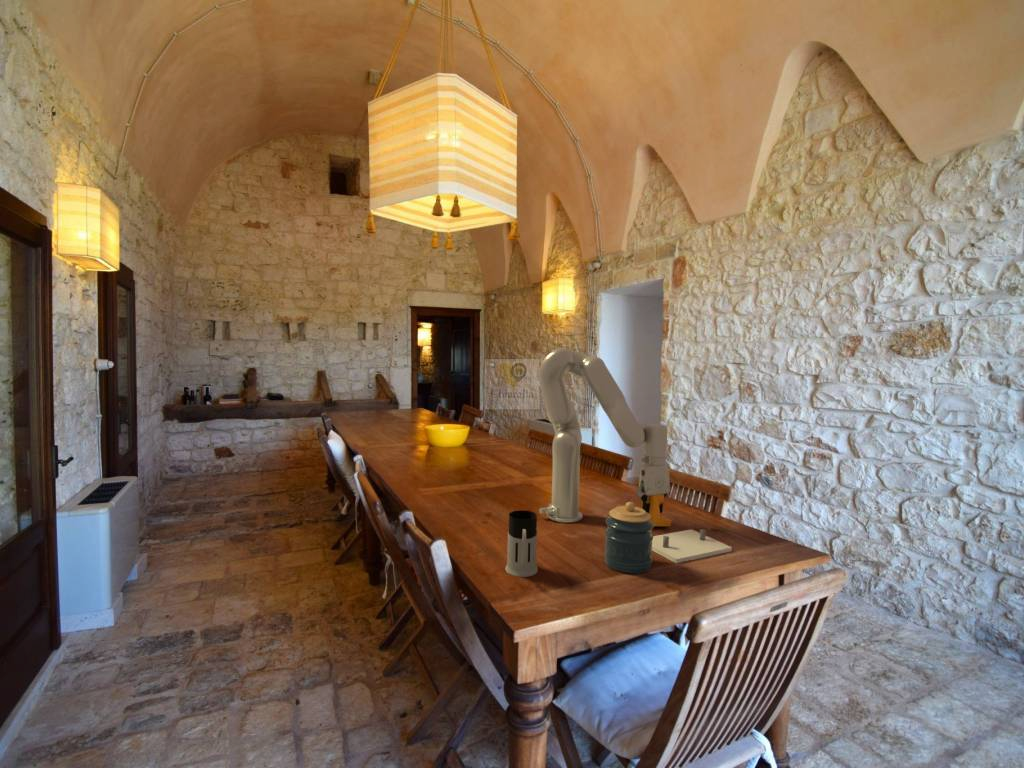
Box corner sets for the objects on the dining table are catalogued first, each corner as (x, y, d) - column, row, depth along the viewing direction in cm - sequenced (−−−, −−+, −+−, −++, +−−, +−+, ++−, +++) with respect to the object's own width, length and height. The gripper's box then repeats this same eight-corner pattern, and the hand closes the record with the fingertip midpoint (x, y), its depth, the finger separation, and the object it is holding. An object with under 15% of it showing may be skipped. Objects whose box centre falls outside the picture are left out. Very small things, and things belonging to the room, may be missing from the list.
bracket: (671, 528, 165) (676, 493, 165) (654, 528, 162) (659, 492, 162) (651, 518, 175) (655, 485, 175) (634, 518, 172) (639, 484, 172)
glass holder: (536, 562, 136) (537, 509, 135) (541, 587, 122) (542, 528, 121) (505, 562, 136) (506, 509, 135) (506, 586, 122) (507, 527, 121)
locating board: (676, 563, 138) (676, 548, 137) (638, 542, 152) (639, 529, 152) (731, 551, 147) (732, 537, 147) (691, 532, 161) (691, 520, 161)
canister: (622, 578, 128) (625, 512, 127) (595, 558, 140) (597, 497, 139) (662, 570, 133) (664, 506, 132) (632, 551, 145) (634, 493, 144)
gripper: (642, 464, 160) (640, 519, 161) (681, 460, 167) (679, 513, 168) (627, 460, 167) (625, 512, 168) (665, 456, 174) (663, 506, 175)
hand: (652, 512), depth 168 cm, fingers closed on bracket, 4 cm apart
